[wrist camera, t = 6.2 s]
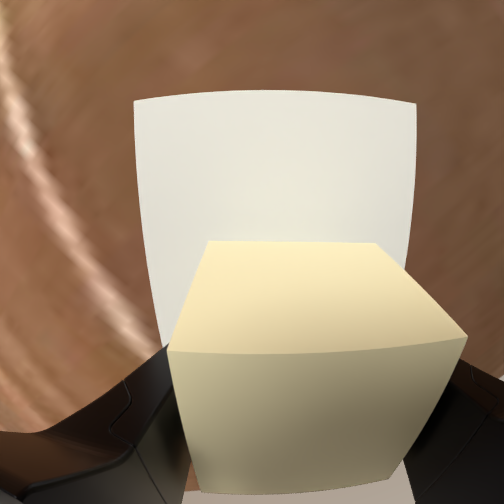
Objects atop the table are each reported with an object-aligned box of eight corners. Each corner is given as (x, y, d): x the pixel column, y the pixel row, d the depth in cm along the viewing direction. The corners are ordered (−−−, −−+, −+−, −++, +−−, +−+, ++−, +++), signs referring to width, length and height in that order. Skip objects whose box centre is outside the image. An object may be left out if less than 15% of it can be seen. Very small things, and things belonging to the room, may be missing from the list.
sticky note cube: (375, 243, 9) (468, 336, 4) (350, 369, 11) (388, 478, 6) (208, 240, 9) (166, 350, 4) (216, 371, 11) (201, 492, 6)
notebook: (388, 108, 11) (415, 103, 9) (359, 370, 16) (371, 400, 14) (154, 107, 11) (133, 100, 9) (185, 376, 16) (178, 408, 14)
